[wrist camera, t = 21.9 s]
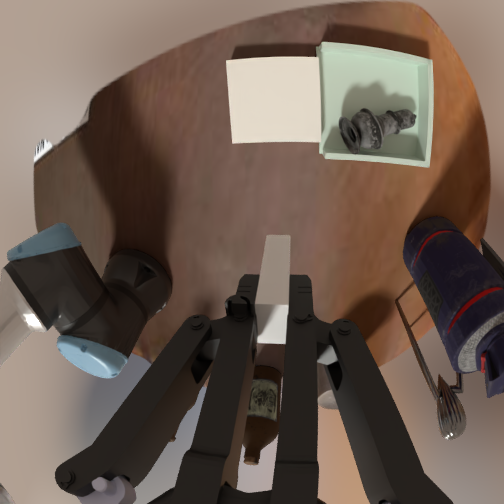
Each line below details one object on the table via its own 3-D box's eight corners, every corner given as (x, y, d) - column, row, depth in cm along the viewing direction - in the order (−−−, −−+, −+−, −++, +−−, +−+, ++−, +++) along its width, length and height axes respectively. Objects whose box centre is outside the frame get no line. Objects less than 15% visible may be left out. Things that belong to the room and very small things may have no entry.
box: (319, 153, 37) (322, 158, 34) (315, 47, 29) (318, 41, 25) (418, 160, 35) (429, 167, 31) (420, 62, 27) (432, 60, 23)
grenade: (411, 281, 46) (466, 420, 21) (390, 235, 42) (464, 391, 17) (467, 246, 40) (547, 366, 15) (453, 195, 36) (565, 315, 11)
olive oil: (277, 388, 69) (268, 470, 48) (239, 380, 69) (223, 463, 48) (288, 368, 64) (282, 461, 42) (247, 360, 64) (229, 454, 42)
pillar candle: (335, 365, 61) (340, 418, 48) (306, 351, 59) (306, 408, 46) (365, 344, 56) (375, 399, 44) (336, 328, 55) (343, 388, 42)
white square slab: (235, 140, 38) (232, 143, 36) (230, 62, 32) (226, 60, 29) (319, 139, 36) (321, 142, 34) (316, 59, 30) (318, 57, 28)
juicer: (395, 299, 49) (435, 438, 23) (440, 295, 47) (491, 418, 22) (385, 332, 54) (410, 458, 28) (427, 328, 52) (463, 443, 27)
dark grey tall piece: (345, 152, 35) (409, 131, 34) (364, 161, 30) (433, 138, 29) (333, 113, 32) (400, 95, 31) (351, 116, 27) (424, 97, 26)
